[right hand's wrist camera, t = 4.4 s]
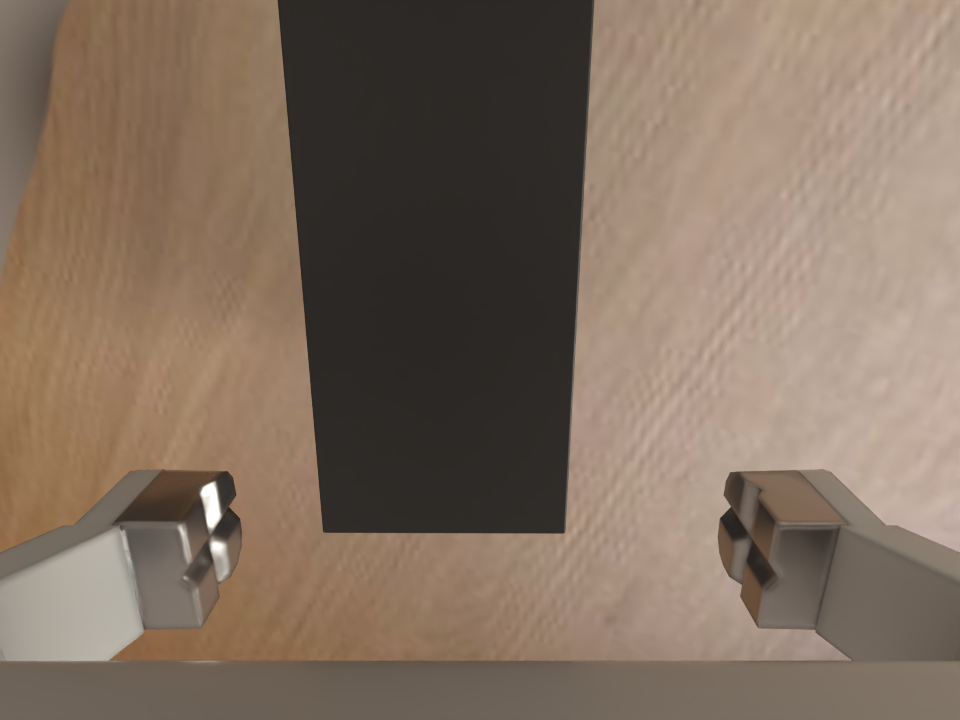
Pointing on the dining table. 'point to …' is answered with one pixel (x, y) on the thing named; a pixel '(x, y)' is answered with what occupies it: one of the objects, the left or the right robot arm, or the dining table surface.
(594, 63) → the dining table surface
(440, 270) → the box
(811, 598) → the right robot arm
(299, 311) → the dining table surface
